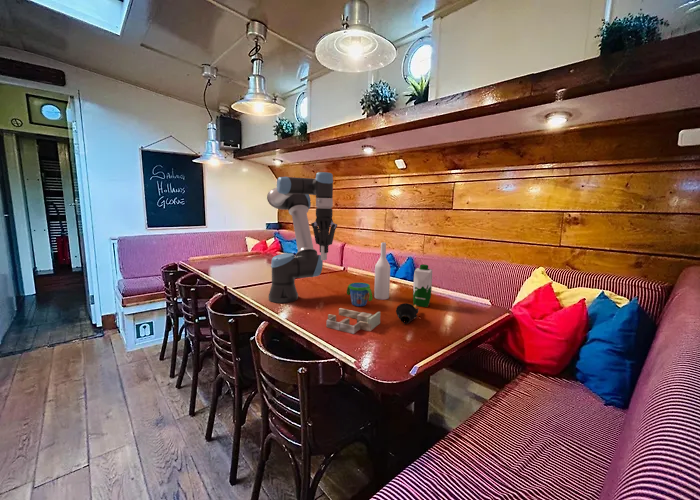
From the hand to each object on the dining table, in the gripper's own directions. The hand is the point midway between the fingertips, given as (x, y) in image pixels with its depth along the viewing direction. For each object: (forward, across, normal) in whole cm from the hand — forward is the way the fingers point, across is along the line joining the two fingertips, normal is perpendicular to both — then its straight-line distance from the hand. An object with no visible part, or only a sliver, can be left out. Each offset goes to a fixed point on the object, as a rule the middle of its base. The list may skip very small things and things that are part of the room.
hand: (323, 259), depth 142 cm
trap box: (+24, +19, -8) cm, 32 cm away
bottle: (+25, +15, +34) cm, 45 cm away
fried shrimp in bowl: (+25, +38, +12) cm, 47 cm away
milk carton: (+25, +37, +34) cm, 56 cm away
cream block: (+25, +24, -5) cm, 35 cm away
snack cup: (+25, +10, +17) cm, 32 cm away
